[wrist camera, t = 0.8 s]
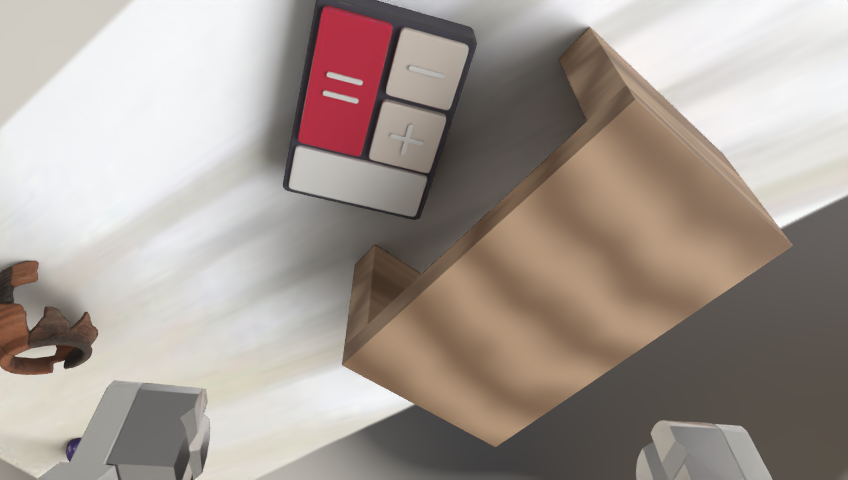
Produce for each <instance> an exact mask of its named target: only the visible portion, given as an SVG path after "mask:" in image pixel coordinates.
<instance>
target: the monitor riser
mask: <svg viewBox="0 0 848 480" xmlns="http://www.w3.org/2000/svg"><path fill="white" fill-rule="evenodd" d="M559 61H560V63H561V65H562V67H563V69H564V72H565V74H566V76H567V78H568V80H569V83H570V85H571V87H572V89H573V91H574V94H575V96H576V98H577V100H578V102H579V104H580V107H581V109H582V111H583V113H584V115H585V118H586V120H587V122H586V123H584V124H583V125H582V126H581V127H580V128H579V129H578V130H577V131H576V132H575V133H574V134H573V135H572V136H570V137H569V138H568V139H567V140H566V141H565V142H564V143H563V144H562V145H561V146H560V147H559V148H558V149H556V150H555V151H554V152H553V153H552V154H551V155H550V156H549V157H548V158H547V159H546V160H545V161H543V162H542V163H541V164H540V165H539V166H538V167H537V168H536V169H535V170H534V171H533V172H532V173H531V174H529V175H528V176H527V177H526V178H525V179H524V180H523V181H522V182H521V183H520V184H519V185H518V186H516V187H515V188H514V189H513V190H512V191H511V192H510V193H509V194H508V195H507V196H506V197H505V198H504V199H502V200H501V201H500V202H499V203H498V204H497V205H496V206H495V207H494V208H493V209H492V210H491V211H490V212H488V213H487V214H486V215H485V216H484V217H483V218H482V219H481V220H480V221H479V222H478V223H477V224H475V225H474V226H473V227H472V228H471V229H470V230H469V231H468V232H467V233H466V234H465V235H464V236H463V237H461V238H460V239H459V240H458V241H457V242H456V243H455V244H454V245H453V246H452V247H451V248H450V249H448V250H447V251H446V252H445V253H444V254H443V255H442V256H441V257H440V258H439V259H438V260H437V261H436V262H434V263H433V264H432V265H431V266H430V267H429V268H428V269H427V270H426V271H425V272H424V273H423V274H421V273H419V272H417V271H416V270H414V269H413V268H411V267H410V266H408V265H406V264H405V263H403V262H402V261H400V260H399V259H397V258H395V257H394V256H392V255H391V254H389V253H388V252H386V251H384V250H383V249H381V248H380V247H378V246H377V245H374V246H373V247H372V248H371V249H370V250H369V251H368V252H367V253H366V254H365V255H364V256H363V257H362V258H361V259H360V260H359V261H358V262H357V263H356V264H355V269H354V277H353V285H352V292H351V300H350V308H349V315H348V323H347V331H346V339H345V346H344V354H343V362H342V365H343V366H345V367H346V368H348V369H350V370H352V371H354V372H356V373H358V374H360V375H361V376H363V377H365V378H367V379H369V380H371V381H373V382H375V383H376V384H378V385H380V386H382V387H384V388H386V389H388V390H390V391H391V392H393V393H395V394H397V395H399V396H401V397H403V398H405V399H406V400H408V401H410V402H412V403H414V404H416V405H418V406H420V407H422V408H423V409H425V410H427V411H429V412H431V413H433V414H435V415H436V416H438V417H440V418H442V419H444V420H446V421H448V422H450V423H452V424H453V425H455V426H457V427H459V428H461V429H463V430H465V431H467V432H468V433H470V434H472V435H474V436H476V437H478V438H480V439H482V440H483V441H485V442H487V443H489V444H491V445H493V446H495V447H497V446H498V445H499V444H501V443H502V442H504V441H505V440H507V439H508V438H510V437H511V436H513V435H514V434H516V433H517V432H519V431H520V430H522V429H523V428H524V427H526V426H528V425H529V424H530V423H532V422H533V421H535V420H536V419H538V418H539V417H541V416H542V415H544V414H545V413H547V412H548V411H550V410H551V409H553V408H554V407H556V406H557V405H559V404H560V403H561V402H563V401H564V400H566V399H567V398H569V397H570V396H572V395H573V394H575V393H576V392H577V391H579V390H581V389H582V388H583V387H585V386H587V385H588V384H589V383H591V382H592V381H594V380H595V379H597V378H598V377H600V376H601V375H603V374H604V373H606V372H607V371H609V370H610V369H612V368H613V367H615V366H616V365H617V364H619V363H620V362H622V361H623V360H625V359H626V358H628V357H629V356H631V355H632V354H634V353H635V352H637V351H638V350H640V349H641V348H643V347H644V346H646V345H647V344H648V343H650V342H651V341H653V340H654V339H656V338H657V337H659V336H660V335H662V334H663V333H665V332H666V331H668V330H669V329H671V328H672V327H674V326H675V325H676V324H678V323H680V322H681V321H682V320H684V319H685V318H687V317H688V316H690V315H691V314H693V313H694V312H696V311H697V310H699V309H700V308H702V307H703V306H705V305H706V304H708V303H709V302H711V301H712V300H713V299H715V298H716V297H718V296H719V295H721V294H722V293H724V292H725V291H727V290H728V289H730V288H731V287H733V286H734V285H735V284H737V283H739V282H740V281H742V280H743V279H744V278H746V277H747V276H749V275H750V274H752V273H753V272H755V271H756V270H758V269H759V268H761V267H762V266H763V265H765V264H766V263H768V262H770V261H771V260H772V259H774V258H775V257H777V256H778V255H780V254H781V253H783V252H784V251H786V250H787V249H789V248H790V247H791V246H793V245H792V244H791V242H790V241H789V240H788V239H787V237H786V236H785V235H784V234H783V232H782V231H781V229H780V228H779V227H778V225H777V224H776V223H775V221H774V220H773V219H772V218H771V216H770V215H769V214H768V212H767V211H766V210H765V208H764V207H763V206H762V204H761V203H760V202H759V200H758V199H757V198H756V197H755V195H754V194H753V193H752V191H751V190H750V189H749V187H748V186H747V185H746V183H745V182H744V181H743V179H742V178H741V177H740V176H739V174H738V173H737V172H736V170H735V169H734V168H733V166H732V165H731V164H730V162H729V161H728V160H727V159H726V157H725V156H724V155H723V154H722V153H721V152H720V151H719V150H718V149H717V148H716V147H715V146H714V145H713V144H712V143H711V142H710V141H709V140H708V139H707V138H706V137H705V136H703V135H702V134H701V133H700V132H699V131H698V130H697V129H696V128H695V127H694V126H693V125H692V124H691V123H690V122H689V121H688V120H687V119H686V118H685V117H684V116H683V115H682V114H680V113H679V112H678V111H677V110H676V109H675V108H674V107H673V106H672V105H671V104H670V103H669V102H668V101H667V100H666V99H665V98H664V97H663V96H662V95H661V94H660V93H658V92H657V91H656V90H655V89H654V88H653V87H652V86H651V85H650V84H649V83H648V82H647V81H646V80H645V79H644V78H643V77H642V76H641V75H640V74H639V73H638V72H636V71H635V70H634V69H633V68H632V67H631V66H630V65H629V64H628V63H627V62H626V61H625V60H624V59H623V58H622V57H621V56H620V55H619V54H618V53H617V52H616V51H614V50H613V49H612V48H611V47H610V46H609V45H608V44H607V43H606V42H605V41H604V40H603V39H602V38H601V37H600V36H599V35H598V34H597V33H596V32H595V31H594V30H592V29H591V28H589V29H588V30H587V31H586V32H585V33H584V34H583V35H582V36H581V37H580V38H579V39H578V40H577V41H576V42H575V43H574V44H573V45H572V46H571V47H570V48H569V49H568V50H567V51H566V52H565V53H564V54H563V55H562V56H561V57H560V58H559Z"/></svg>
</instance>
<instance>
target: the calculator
mask: <svg viewBox="0 0 848 480" xmlns="http://www.w3.org/2000/svg"><path fill="white" fill-rule="evenodd" d="M476 44H477V43H476V38H475V35H474V32H473V29H472V28H470V27H468V26H465V25H461V24H458V23H454V22H451V21H447V20H443V19H440V18H436V17H433V16H429V15H426V14H422V13H419V12H415V11H412V10H408V9H405V8H401V7H398V6H394V5H391V4H387V3H384V2H380V1H377V0H317V1H316V5H315V11H314V16H313V22H312V27H311V33H310V38H309V44H308V49H307V55H306V60H305V66H304V71H303V77H302V82H301V88H300V93H299V99H298V104H297V110H296V115H295V121H294V126H293V132H292V137H291V143H290V148H289V154H288V159H287V165H286V170H285V176H284V181H283V187H284V189H285V190H287V191H291V192H295V193H299V194H304V195H308V196H312V197H317V198H321V199H326V200H330V201H334V202H339V203H343V204H347V205H352V206H356V207H361V208H365V209H369V210H374V211H378V212H382V213H387V214H391V215H396V216H400V217H404V218H409V219H414V220H416V219H419V218H420V216H421V214H422V211H423V208H424V205H425V201H426V198H427V195H428V192H429V189H430V186H431V183H432V180H433V177H434V174H435V171H436V168H437V165H438V162H439V159H440V156H441V153H442V149H443V146H444V143H445V140H446V137H447V134H448V131H449V128H450V125H451V122H452V119H453V116H454V113H455V110H456V107H457V104H458V101H459V97H460V94H461V91H462V88H463V85H464V82H465V79H466V76H467V73H468V70H469V67H470V64H471V61H472V58H473V55H474V52H475V48H476Z"/></svg>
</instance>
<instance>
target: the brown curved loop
mask: <svg viewBox="0 0 848 480" xmlns="http://www.w3.org/2000/svg"><path fill="white" fill-rule="evenodd" d="M38 265H39V263H38V262H37V261H31V262H24V263H19V264H17V265H14V266H11V267H8V268H7V269H5V270H3V271H2V272H1V273H0V366H1V368H2V369H4V370H6V371H8V372H10V373H15V374H23V375H38V374H48V373H52V372H53V364H54V363H56V362H61V361H64V360H65V362H64V368H65V369H68V368H73V367H76V366H78V365H80V364H82V363H84V362H85V361H87V360H88V359H89V358H90V356H91V354H92V348H91V345H92V344H93V342H94V341H95V340H96V338H97V336H98V330H97V329H96V327H94V326H93V325H92V323H91V320H90V316H89V314H88V312H85V313H84V315H83V316H82V318H81V319H80V320H79V321H78V322H77V323H76V324H74V326H72V327H71V328H70V323H69V322H68V320H67V319H66V318H65V317H64V316H63V315H62V314H61V312H60V311H59V310H58V309H56V308H53V307H45V309H44V316H43V317H42V318H41V320H40V321H39V322H38V324H37V325H36V326H35V327H34V328H33V329H32V330H31V331H29V329H28V326H27V322H26V311H25V310H24V308H23V306H22V305H20V304H16V303H14V298H13V290H14V287H17V286H19V285H23V284H26V283H31V282H36V281H37V280H38V273H37V269H38ZM49 345H56V347H57V350H56V353H55V355H54V356H49V357H41V358H23V357H15V355H17V354H19V353H21V352H23V351H26V350H29V349H31V348H36V347H42V346H49Z"/></svg>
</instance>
